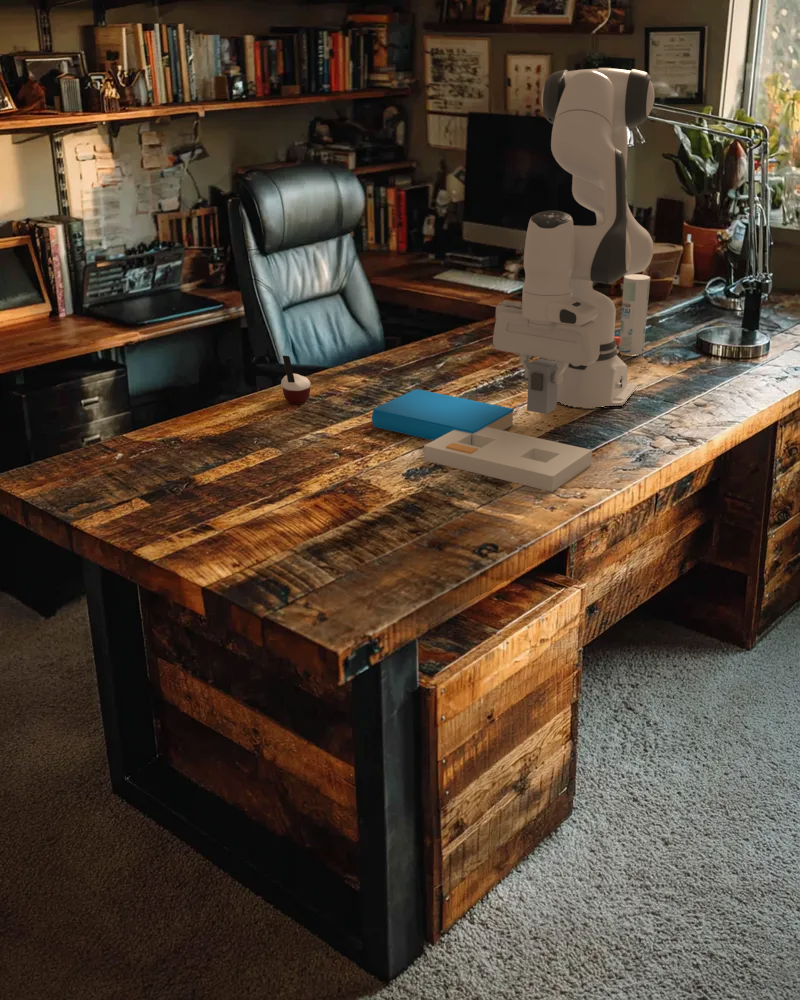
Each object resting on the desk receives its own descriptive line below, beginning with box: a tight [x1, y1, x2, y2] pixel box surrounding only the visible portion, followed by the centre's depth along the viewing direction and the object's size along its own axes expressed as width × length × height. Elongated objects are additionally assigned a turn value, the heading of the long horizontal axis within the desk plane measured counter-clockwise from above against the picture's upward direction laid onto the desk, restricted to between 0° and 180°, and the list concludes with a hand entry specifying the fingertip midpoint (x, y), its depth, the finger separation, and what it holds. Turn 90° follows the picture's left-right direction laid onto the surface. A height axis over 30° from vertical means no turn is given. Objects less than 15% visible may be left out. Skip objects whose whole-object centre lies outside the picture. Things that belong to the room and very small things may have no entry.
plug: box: [526, 357, 559, 415], centre depth 200 cm, size 5×4×9 cm
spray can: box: [618, 273, 651, 355], centre depth 279 cm, size 6×6×20 cm
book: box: [371, 388, 515, 445], centre depth 230 cm, size 17×4×25 cm
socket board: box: [423, 427, 593, 493], centre depth 210 cm, size 16×28×4 cm, turn 55°
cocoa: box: [280, 354, 312, 405], centre depth 246 cm, size 10×6×12 cm, turn 140°
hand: (543, 380), depth 200 cm, fingers closed on plug, 4 cm apart
